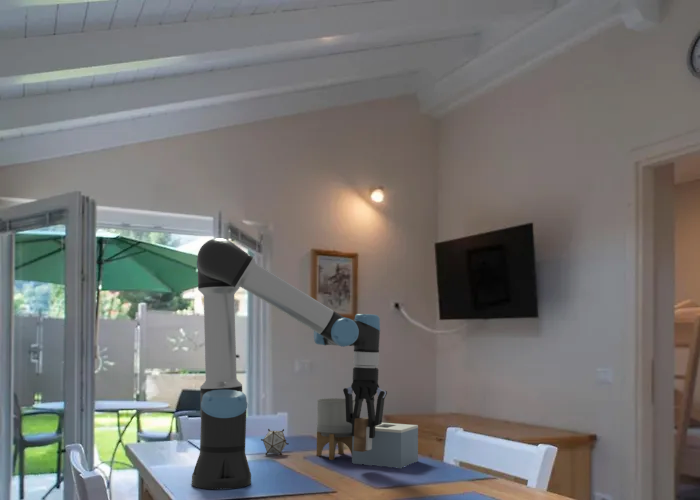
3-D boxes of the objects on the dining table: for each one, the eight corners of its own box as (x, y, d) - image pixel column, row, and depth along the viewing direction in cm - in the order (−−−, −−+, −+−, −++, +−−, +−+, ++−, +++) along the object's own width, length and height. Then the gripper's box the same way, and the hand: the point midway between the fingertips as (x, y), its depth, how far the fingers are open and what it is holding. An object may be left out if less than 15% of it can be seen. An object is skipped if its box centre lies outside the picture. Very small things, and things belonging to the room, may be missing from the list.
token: (371, 449, 206) (372, 418, 207) (362, 451, 201) (364, 419, 202) (362, 448, 208) (363, 417, 209) (353, 450, 202) (354, 418, 203)
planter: (311, 458, 222) (312, 401, 224) (322, 452, 235) (323, 397, 237) (351, 460, 219) (352, 402, 221) (360, 454, 232) (361, 399, 234)
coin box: (400, 468, 207) (401, 430, 209) (352, 463, 214) (352, 426, 216) (417, 461, 220) (418, 425, 221) (371, 456, 227) (371, 421, 228)
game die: (278, 465, 230) (296, 439, 234) (274, 460, 223) (292, 433, 226) (257, 450, 233) (275, 424, 236) (252, 444, 226) (270, 418, 229)
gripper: (396, 368, 207) (393, 450, 204) (347, 365, 214) (343, 444, 211) (385, 368, 201) (383, 453, 198) (335, 365, 208) (332, 447, 205)
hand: (362, 448), depth 204 cm, fingers closed on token, 3 cm apart
